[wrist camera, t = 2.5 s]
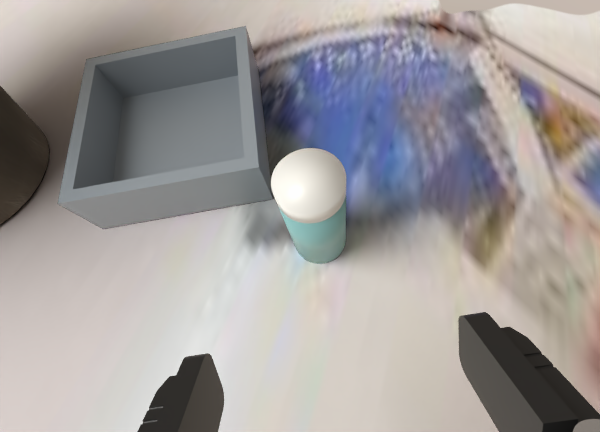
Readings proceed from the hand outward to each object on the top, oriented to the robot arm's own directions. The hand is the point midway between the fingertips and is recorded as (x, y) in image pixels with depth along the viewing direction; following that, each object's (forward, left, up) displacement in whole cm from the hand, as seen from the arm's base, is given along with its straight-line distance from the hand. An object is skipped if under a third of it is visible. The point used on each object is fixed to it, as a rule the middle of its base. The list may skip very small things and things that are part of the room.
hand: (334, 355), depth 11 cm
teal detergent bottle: (0, -11, -18) cm, 21 cm away
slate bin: (+13, -25, -18) cm, 33 cm away
